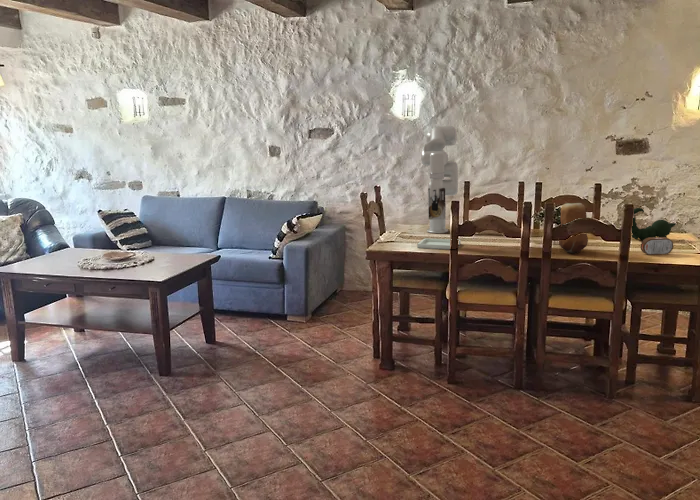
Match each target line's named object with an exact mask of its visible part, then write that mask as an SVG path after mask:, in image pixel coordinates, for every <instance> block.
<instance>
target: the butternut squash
mask: <svg viewBox="0 0 700 500" xmlns="http://www.w3.org/2000/svg"><path fill="white" fill-rule="evenodd" d="M587 216H588V215H587V209H586V205H584V204H583V203H581V202H576V203H575V202H574V203H570V202H568V203H567V202H566V203H564V204H562V205H561V207H560V218H559V219H560V223H561V225H560V226H562V224H566V223H568V222H571V221H573V220H575V219H578V218H587ZM588 243H589V236H588V234H587V233H586V234H580V235H577V236H572V237H570V238H568V239H566V240H559V239H558V244H559V247H560V248H561V249H562V250H564V251H565V252H566V253H571V254H578V253H580V252H582V251H583V250H584V249H585V248H586V247H587V245H588Z"/></svg>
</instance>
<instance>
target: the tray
mask: <svg viewBox="0 0 700 500" xmlns="http://www.w3.org/2000/svg"><path fill="white" fill-rule="evenodd" d="M450 239H451V238H450ZM450 239H449V238H448V239H447V238H446V239H445V238H428V237H427V238H423V239H422V240H420V241H419V242H418V243H417V246H416V247H417V249H432V250H446V251H447V250H449V249H450ZM458 240H459V246H460V245H461V239H458ZM449 251H450V250H449Z"/></svg>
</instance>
